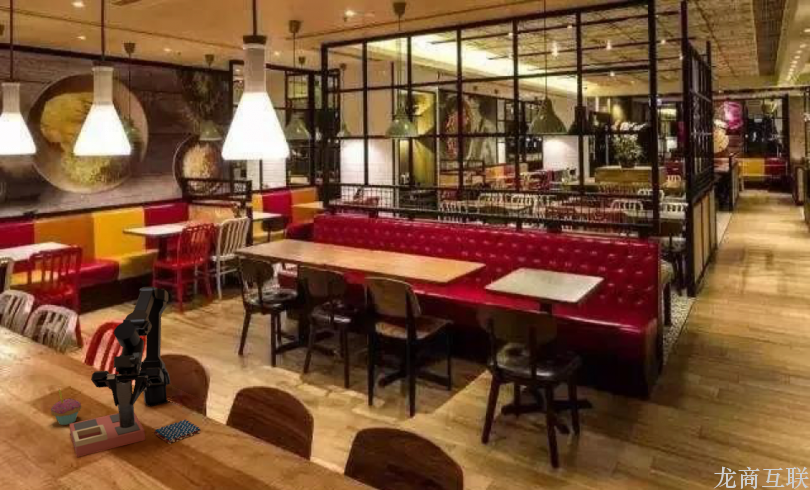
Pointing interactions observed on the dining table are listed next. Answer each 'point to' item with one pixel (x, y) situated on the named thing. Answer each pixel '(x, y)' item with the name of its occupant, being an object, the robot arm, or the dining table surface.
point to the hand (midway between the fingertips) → (124, 405)
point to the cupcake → (66, 410)
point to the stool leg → (125, 403)
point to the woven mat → (177, 431)
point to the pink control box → (103, 434)
